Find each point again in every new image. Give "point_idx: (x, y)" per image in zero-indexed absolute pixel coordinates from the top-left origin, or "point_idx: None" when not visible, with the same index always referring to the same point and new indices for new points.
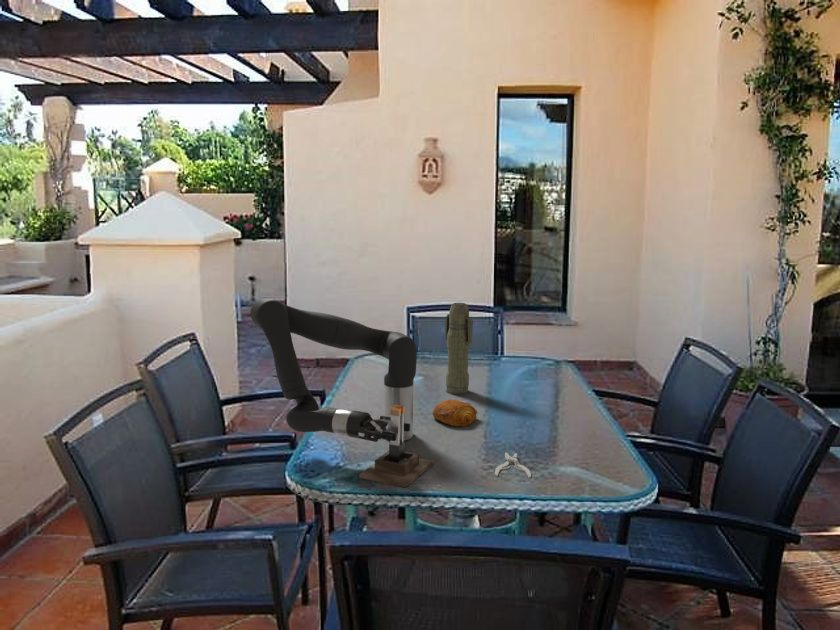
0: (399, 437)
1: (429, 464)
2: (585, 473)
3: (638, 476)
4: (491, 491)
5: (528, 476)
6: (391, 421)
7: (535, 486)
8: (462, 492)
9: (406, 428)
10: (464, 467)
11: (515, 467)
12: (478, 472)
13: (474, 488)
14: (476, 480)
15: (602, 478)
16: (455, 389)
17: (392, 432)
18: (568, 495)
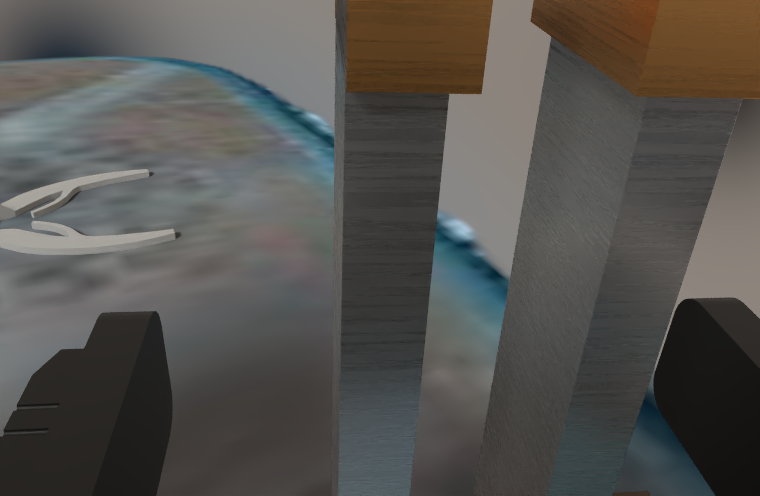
0: (486, 436)
1: None
2: (53, 109)
3: (50, 64)
4: None
5: (141, 175)
6: (666, 269)
7: (228, 158)
8: (442, 278)
9: (158, 411)
10: None
11: (45, 209)
12: (151, 292)
13: None
14: (267, 275)
15: (88, 91)
16: None
17: (744, 331)
18: (259, 115)
